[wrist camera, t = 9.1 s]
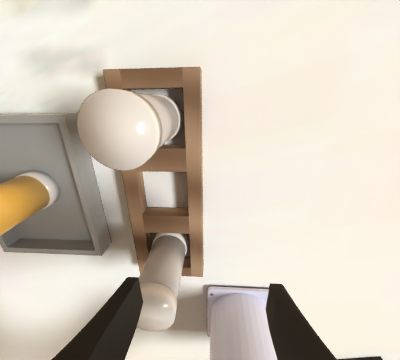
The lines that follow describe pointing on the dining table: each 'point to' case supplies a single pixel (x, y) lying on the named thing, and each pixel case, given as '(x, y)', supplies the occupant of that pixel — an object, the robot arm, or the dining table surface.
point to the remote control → (367, 359)
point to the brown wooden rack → (167, 165)
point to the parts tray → (66, 179)
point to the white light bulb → (126, 126)
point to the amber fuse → (25, 197)
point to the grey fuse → (162, 281)
